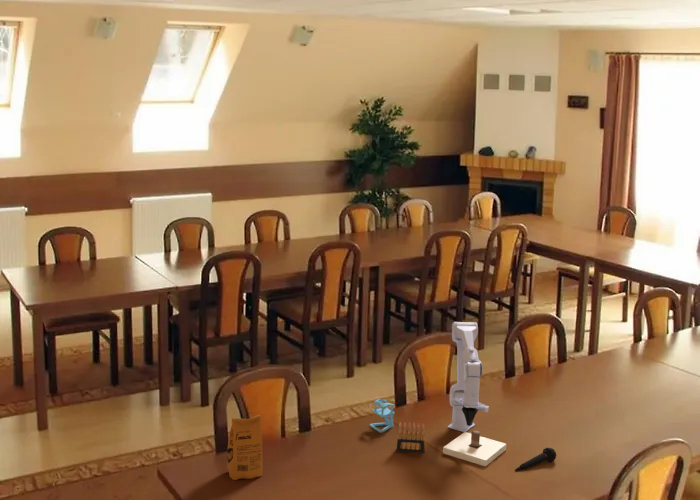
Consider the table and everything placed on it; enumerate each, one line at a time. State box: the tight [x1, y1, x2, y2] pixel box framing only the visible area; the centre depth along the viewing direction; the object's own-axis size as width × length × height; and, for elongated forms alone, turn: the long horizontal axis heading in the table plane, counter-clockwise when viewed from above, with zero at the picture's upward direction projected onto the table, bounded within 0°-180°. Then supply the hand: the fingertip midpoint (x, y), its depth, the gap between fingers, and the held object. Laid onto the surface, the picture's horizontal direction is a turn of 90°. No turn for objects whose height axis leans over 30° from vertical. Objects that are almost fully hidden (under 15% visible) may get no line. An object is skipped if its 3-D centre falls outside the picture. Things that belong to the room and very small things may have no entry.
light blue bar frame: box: [369, 398, 396, 434], centre depth 364 cm, size 8×8×12 cm
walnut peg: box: [471, 430, 481, 449], centre depth 345 cm, size 3×3×8 cm
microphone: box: [514, 447, 557, 472], centre depth 335 cm, size 6×6×20 cm
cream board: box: [442, 431, 507, 467], centre depth 345 cm, size 18×18×2 cm
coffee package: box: [226, 414, 264, 481], centre depth 320 cm, size 10×12×22 cm
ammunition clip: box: [396, 421, 426, 454], centre depth 343 cm, size 11×2×12 cm, turn 85°
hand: (469, 424), depth 346 cm, fingers closed
